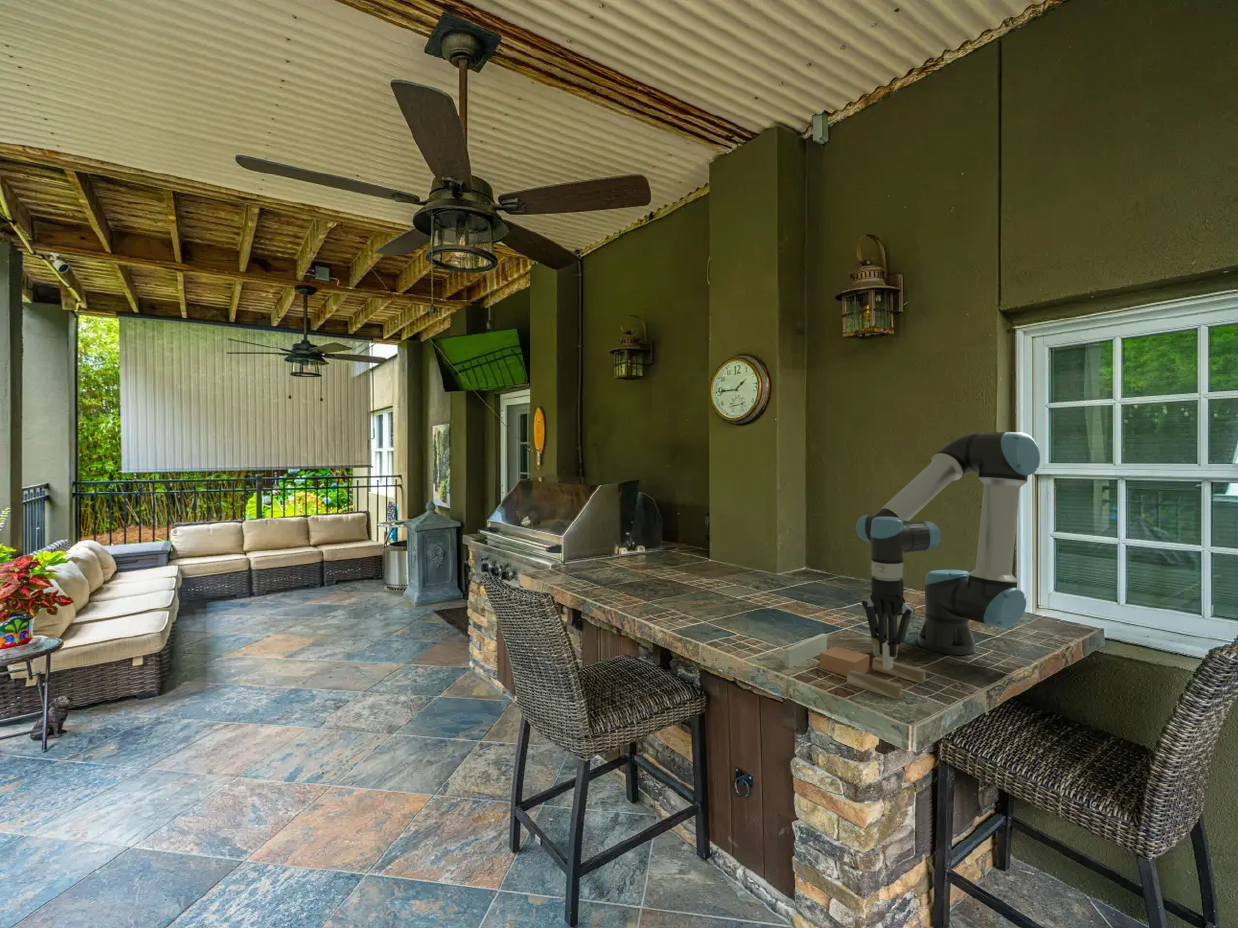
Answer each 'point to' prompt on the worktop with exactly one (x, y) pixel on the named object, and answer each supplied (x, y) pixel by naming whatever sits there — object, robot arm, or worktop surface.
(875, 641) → the coffee cup
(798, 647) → the board
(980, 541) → the robot arm
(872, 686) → the chute
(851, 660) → the block
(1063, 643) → the worktop surface
